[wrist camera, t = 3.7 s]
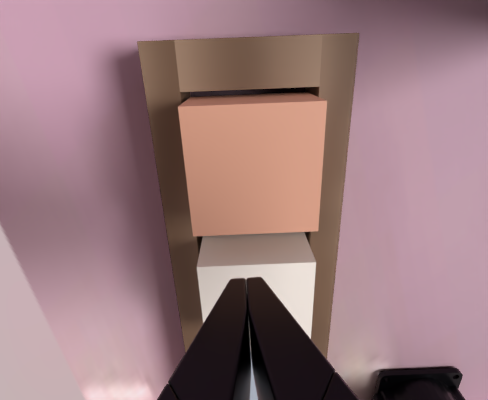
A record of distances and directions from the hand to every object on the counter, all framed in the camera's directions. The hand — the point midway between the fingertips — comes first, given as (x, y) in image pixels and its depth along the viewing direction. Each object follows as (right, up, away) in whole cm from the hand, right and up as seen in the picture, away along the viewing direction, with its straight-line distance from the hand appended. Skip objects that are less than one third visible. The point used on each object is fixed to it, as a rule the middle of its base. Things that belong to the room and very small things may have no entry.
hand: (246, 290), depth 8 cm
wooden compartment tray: (0, -1, +12) cm, 12 cm away
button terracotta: (0, +5, +7) cm, 9 cm away
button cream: (+1, -2, +10) cm, 10 cm away
